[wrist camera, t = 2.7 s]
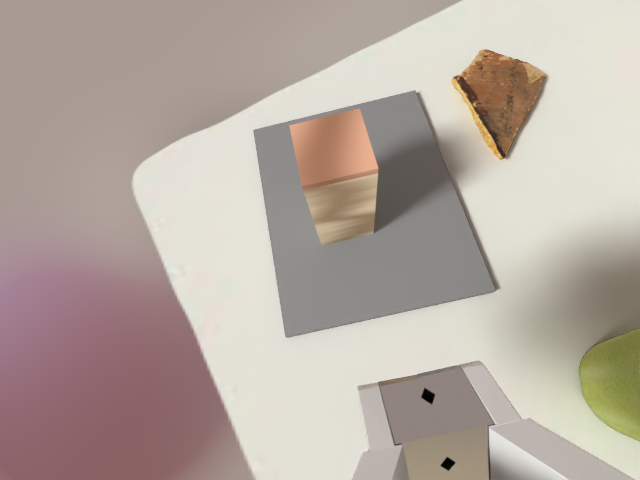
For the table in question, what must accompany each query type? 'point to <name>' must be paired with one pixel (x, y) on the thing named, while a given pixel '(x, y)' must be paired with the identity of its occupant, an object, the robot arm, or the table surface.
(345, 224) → the birch block
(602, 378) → the plant pot
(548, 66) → the table surface
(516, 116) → the shard
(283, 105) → the table surface
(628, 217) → the table surface
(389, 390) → the robot arm
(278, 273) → the rubber mat
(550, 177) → the table surface
